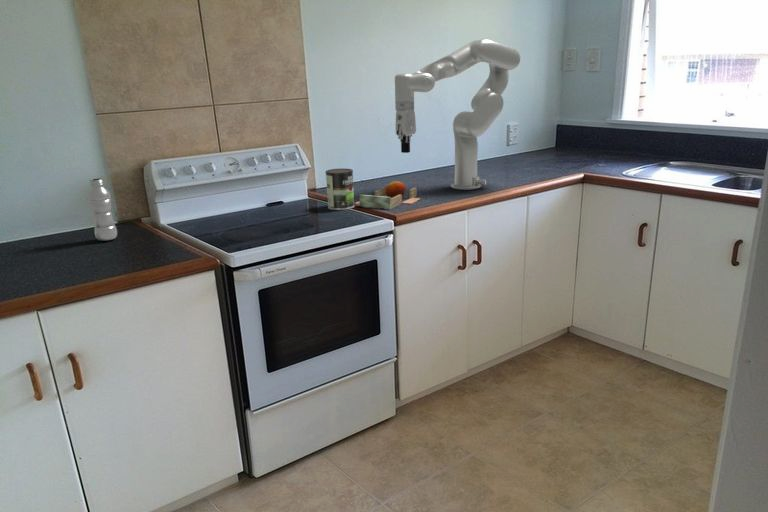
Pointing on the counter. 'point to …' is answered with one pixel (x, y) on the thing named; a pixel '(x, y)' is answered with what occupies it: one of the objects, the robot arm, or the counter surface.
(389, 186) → the fruit
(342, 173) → the coffee can
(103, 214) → the plastic bottle
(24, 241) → the counter surface
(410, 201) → the trap marks
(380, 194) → the trap box
